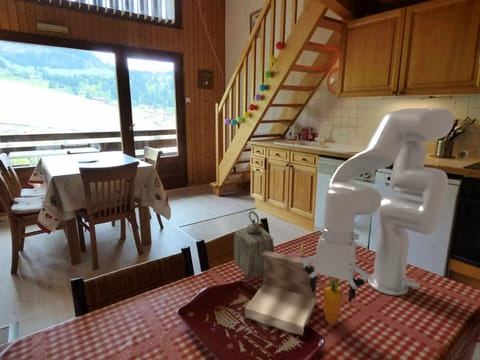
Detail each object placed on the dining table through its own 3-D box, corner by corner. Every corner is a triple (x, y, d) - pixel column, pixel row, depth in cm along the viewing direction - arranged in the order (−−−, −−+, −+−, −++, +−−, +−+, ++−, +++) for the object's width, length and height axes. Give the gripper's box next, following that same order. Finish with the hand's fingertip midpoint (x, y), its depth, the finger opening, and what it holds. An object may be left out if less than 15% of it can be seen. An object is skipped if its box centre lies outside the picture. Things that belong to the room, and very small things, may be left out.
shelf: (315, 304, 93) (318, 261, 90) (302, 336, 80) (305, 286, 77) (264, 289, 101) (265, 249, 98) (245, 317, 87) (245, 271, 84)
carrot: (340, 333, 81) (345, 283, 78) (321, 330, 82) (325, 281, 79) (338, 321, 86) (342, 273, 82) (320, 318, 87) (324, 271, 83)
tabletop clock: (273, 285, 104) (275, 216, 98) (249, 291, 100) (250, 220, 94) (253, 266, 116) (254, 204, 111) (232, 271, 113) (232, 207, 107)
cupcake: (311, 269, 114) (312, 240, 112) (303, 279, 107) (304, 248, 105) (290, 263, 119) (291, 235, 116) (281, 272, 112) (282, 242, 109)
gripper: (374, 236, 77) (367, 296, 81) (307, 225, 85) (303, 280, 88) (372, 247, 71) (364, 311, 74) (300, 233, 78) (296, 292, 82)
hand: (331, 294), depth 81 cm, fingers open, 9 cm apart
